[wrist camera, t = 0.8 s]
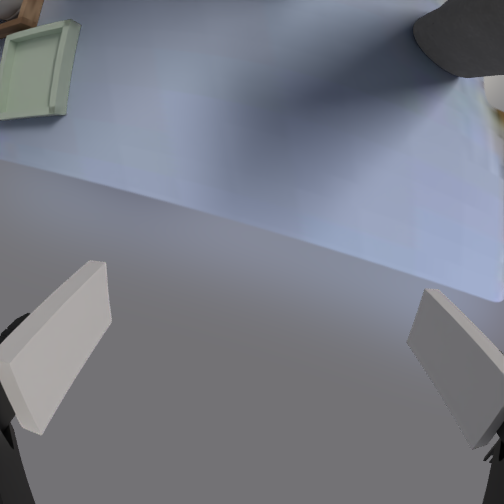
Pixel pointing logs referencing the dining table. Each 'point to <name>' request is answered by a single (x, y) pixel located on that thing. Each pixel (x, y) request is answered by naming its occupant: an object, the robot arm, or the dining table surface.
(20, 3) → the travel mug
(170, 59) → the dining table surface
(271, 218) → the dining table surface
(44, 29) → the tray
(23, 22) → the holder
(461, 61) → the vase
